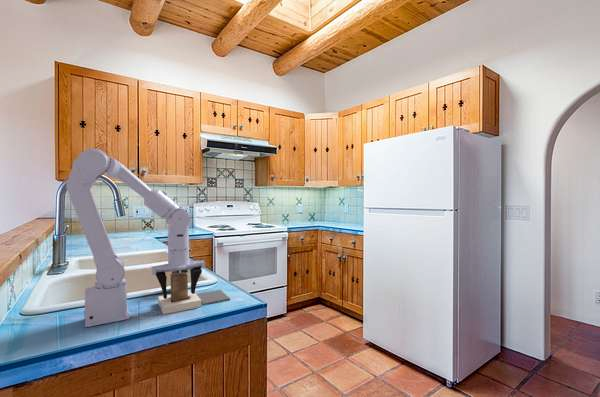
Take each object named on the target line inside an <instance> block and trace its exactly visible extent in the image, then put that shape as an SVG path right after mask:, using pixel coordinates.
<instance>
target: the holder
mask: <svg viewBox="0 0 600 397" xmlns="http://www.w3.org/2000/svg"><path fill="white" fill-rule="evenodd" d="M197 294H198V293H196V292H195V294H192V293H191V290H188V300H183V301H177V302H172V303H171V293H170V294H167V298H166V299H164V297H163V295H159V296H157V303H158V306H159V308H160V311H161V313H162V315H167V314H173V313H178V312H182V311H187V310H193V309H198V308H202V303H201V299H200V298H199V297H198V296H197Z"/></svg>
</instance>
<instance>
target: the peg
mask: <svg viewBox="0 0 600 397" xmlns="http://www.w3.org/2000/svg"><path fill="white" fill-rule="evenodd" d="M188 277H189V276H188V274H187V273H185V272H183V273H175V274H172V273H171V274H170V294H171V303H172V302H177V301H183V300H188V291H189V290H188V288H189V287H188V286H189V283H188V282H189V280H188Z"/></svg>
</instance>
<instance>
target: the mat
mask: <svg viewBox="0 0 600 397" xmlns="http://www.w3.org/2000/svg"><path fill="white" fill-rule="evenodd" d="M196 294H197V296H198V297H199V298H200V299H201V305H203V306H206V305H212V304H217V303H221V302H227V301H230V300H231V298H230V297H229V296H228V295H227V294H226V293H225V292H223V291H222V290H221V289H217V290H211V291H205V292H200V293H196Z"/></svg>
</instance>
